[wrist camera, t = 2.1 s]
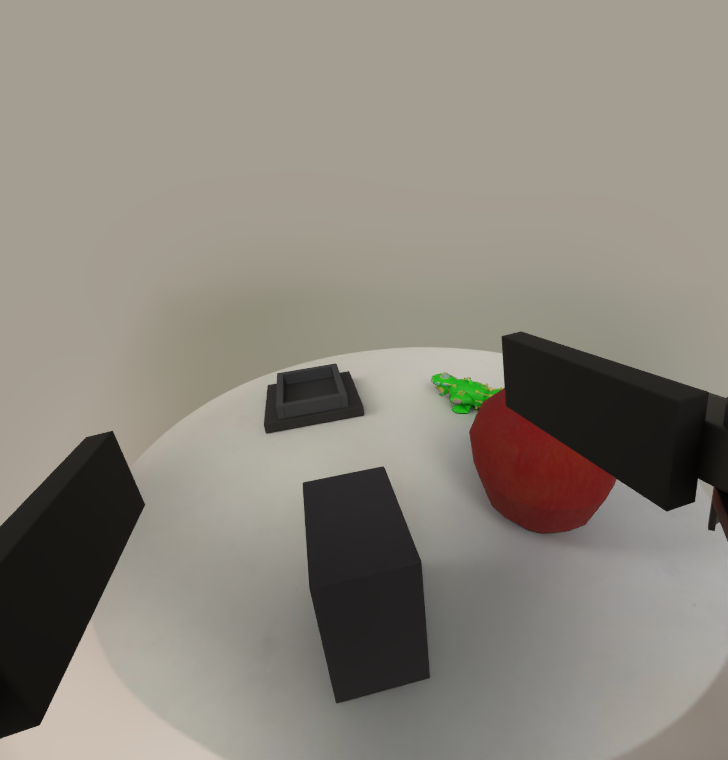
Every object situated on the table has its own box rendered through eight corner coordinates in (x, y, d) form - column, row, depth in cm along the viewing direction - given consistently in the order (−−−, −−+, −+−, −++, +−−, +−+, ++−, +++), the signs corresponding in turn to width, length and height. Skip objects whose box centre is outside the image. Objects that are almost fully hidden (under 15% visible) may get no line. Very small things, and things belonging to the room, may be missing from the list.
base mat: (266, 433, 56) (260, 411, 55) (269, 392, 69) (265, 374, 68) (364, 415, 58) (361, 393, 57) (350, 379, 71) (347, 360, 69)
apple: (544, 462, 44) (553, 346, 38) (646, 535, 34) (679, 391, 28) (446, 496, 40) (442, 374, 35) (527, 589, 30) (538, 437, 25)
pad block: (336, 703, 25) (309, 588, 21) (323, 581, 33) (302, 482, 29) (430, 678, 25) (421, 562, 21) (394, 565, 34) (384, 465, 30)
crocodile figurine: (446, 386, 63) (445, 361, 62) (563, 420, 51) (566, 390, 49) (419, 402, 60) (417, 376, 58) (538, 443, 47) (540, 411, 45)
